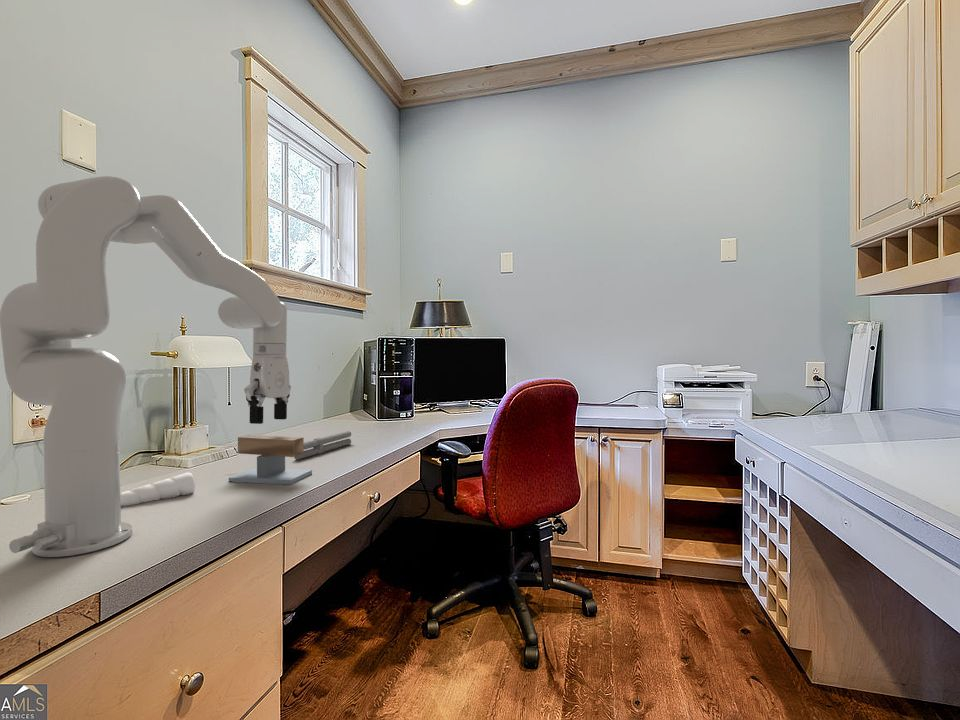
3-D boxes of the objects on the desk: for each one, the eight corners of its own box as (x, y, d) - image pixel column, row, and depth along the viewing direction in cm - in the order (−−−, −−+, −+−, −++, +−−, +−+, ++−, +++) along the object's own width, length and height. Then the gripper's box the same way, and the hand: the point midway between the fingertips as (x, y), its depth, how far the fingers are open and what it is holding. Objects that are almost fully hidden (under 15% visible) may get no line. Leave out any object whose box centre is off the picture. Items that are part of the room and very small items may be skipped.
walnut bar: (293, 457, 114) (292, 440, 114) (237, 453, 119) (237, 437, 119) (303, 453, 118) (303, 437, 118) (249, 450, 123) (249, 434, 123)
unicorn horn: (49, 515, 93) (49, 490, 93) (191, 491, 109) (190, 470, 109) (50, 521, 89) (49, 495, 89) (196, 495, 105) (195, 474, 105)
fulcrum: (290, 484, 113) (289, 458, 112) (228, 481, 115) (228, 456, 115) (312, 473, 122) (311, 450, 122) (254, 471, 125) (254, 448, 125)
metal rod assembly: (345, 444, 163) (345, 430, 162) (352, 445, 162) (352, 430, 162) (291, 461, 138) (291, 443, 138) (299, 461, 137) (299, 444, 137)
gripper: (262, 350, 109) (261, 425, 109) (302, 352, 126) (301, 418, 126) (232, 350, 110) (231, 424, 110) (276, 352, 127) (275, 417, 127)
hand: (268, 421), depth 118 cm, fingers open, 9 cm apart
